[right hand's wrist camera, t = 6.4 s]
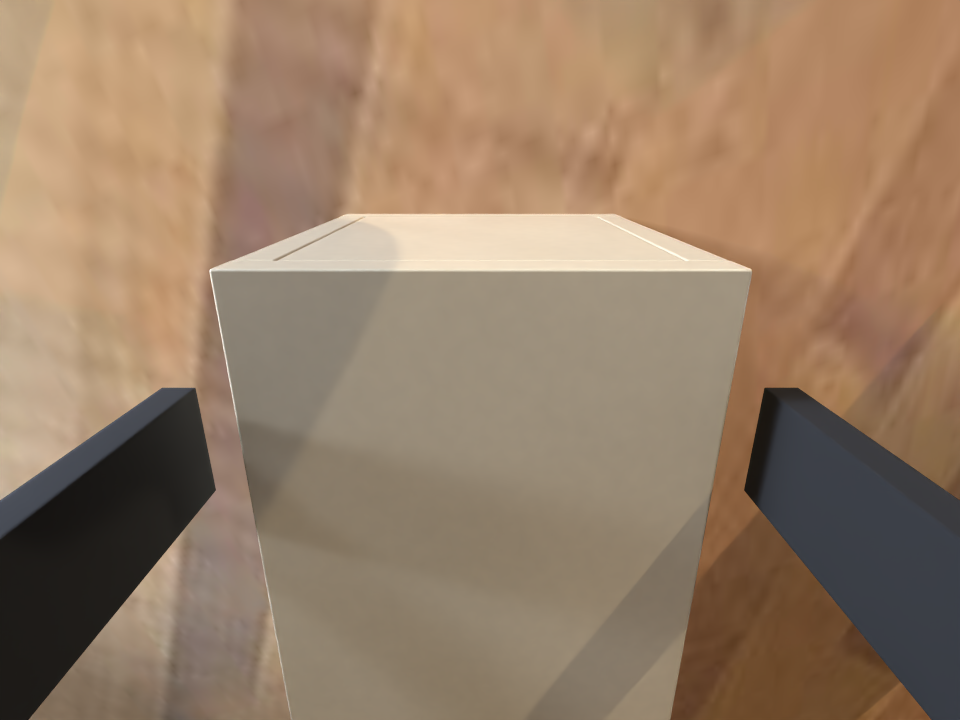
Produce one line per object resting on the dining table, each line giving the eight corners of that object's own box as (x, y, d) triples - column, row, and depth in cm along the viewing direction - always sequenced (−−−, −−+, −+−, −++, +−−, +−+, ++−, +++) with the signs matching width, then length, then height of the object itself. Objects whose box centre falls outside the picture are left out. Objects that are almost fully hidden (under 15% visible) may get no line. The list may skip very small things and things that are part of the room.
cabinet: (579, 632, 28) (636, 908, 18) (382, 632, 28) (324, 907, 18) (615, 213, 21) (754, 269, 10) (345, 213, 21) (207, 269, 10)
